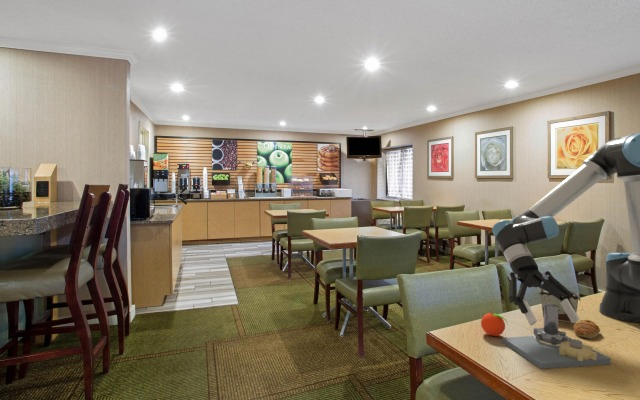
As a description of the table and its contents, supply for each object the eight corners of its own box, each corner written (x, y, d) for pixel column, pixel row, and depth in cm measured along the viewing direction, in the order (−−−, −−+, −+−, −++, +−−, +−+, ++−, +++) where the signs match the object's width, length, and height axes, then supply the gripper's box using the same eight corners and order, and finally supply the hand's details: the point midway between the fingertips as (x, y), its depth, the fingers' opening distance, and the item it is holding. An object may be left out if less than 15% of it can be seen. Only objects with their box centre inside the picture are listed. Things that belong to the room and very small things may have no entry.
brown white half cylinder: (578, 318, 128) (579, 290, 128) (580, 323, 123) (580, 294, 123) (538, 312, 135) (539, 285, 135) (538, 317, 130) (538, 289, 129)
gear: (553, 332, 111) (554, 300, 111) (575, 344, 103) (576, 309, 102) (527, 334, 110) (527, 302, 110) (547, 345, 102) (547, 311, 101)
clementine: (511, 335, 113) (511, 313, 113) (504, 342, 108) (505, 319, 108) (485, 329, 119) (485, 307, 119) (477, 335, 114) (477, 313, 113)
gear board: (560, 337, 111) (561, 322, 111) (612, 365, 94) (613, 346, 94) (501, 341, 109) (501, 325, 109) (543, 370, 92) (543, 350, 92)
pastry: (596, 342, 109) (596, 330, 108) (570, 336, 113) (570, 324, 113) (600, 333, 115) (600, 321, 115) (575, 328, 120) (575, 316, 120)
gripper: (548, 266, 123) (585, 325, 109) (481, 268, 120) (509, 329, 106) (561, 253, 118) (601, 314, 103) (490, 255, 115) (522, 318, 100)
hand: (554, 322), depth 105 cm, fingers open, 13 cm apart
